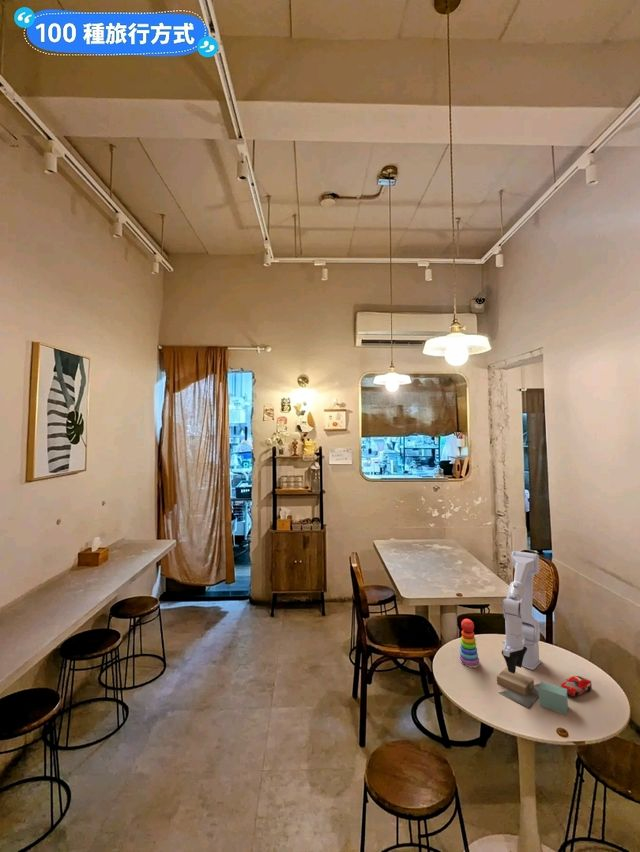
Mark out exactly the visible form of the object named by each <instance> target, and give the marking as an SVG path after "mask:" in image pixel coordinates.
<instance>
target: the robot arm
mask: <svg viewBox="0 0 640 852" xmlns="http://www.w3.org/2000/svg"><path fill="white" fill-rule="evenodd" d="M510 558H511V559H510V562H511V564H512V567H513V568H514V575H513V581H511V582H510V583H509V586H508V589H507V590H508V591H507V593H506V598H503V601H502V613H503V618H504V620H505V621H504V623H505V625H504V626H505V639H503V640H502V643H503V644H504V648H503V650H501V655H502V657H503V659H504V661H505V663H506V668H508V671H509V672H511V673H513V674H514V673H515V672H516V670H517V667H518V668H522V667H523V668H526V669H529V670H532V671H533V670H535V669H536V668H537V667H538V666H539V665H540V664H541V663H542V662H543V661H542V660H541V659H540V647H539V643H540V640H541V631H540V630H541V629H540V624H539V622H538V620H536V619H535V618H534V616H533V601H534V600H533V599H534V598H533V595H534V594H533V593H534V578H535V575H539V573H540V563H541V562H540V555H539V554H538V553H531V552H525V551H519V550H516V549H515V550H513V551H512V552H511V556H510Z"/></svg>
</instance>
